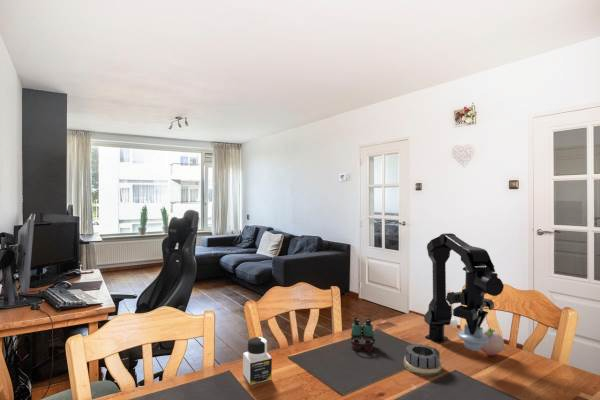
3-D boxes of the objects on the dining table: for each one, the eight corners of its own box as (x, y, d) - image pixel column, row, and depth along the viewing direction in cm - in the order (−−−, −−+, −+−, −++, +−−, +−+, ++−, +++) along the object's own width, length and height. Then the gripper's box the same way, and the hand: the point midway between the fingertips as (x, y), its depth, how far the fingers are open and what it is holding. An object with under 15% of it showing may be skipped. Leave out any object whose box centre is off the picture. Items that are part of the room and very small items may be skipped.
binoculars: (351, 327, 127) (350, 315, 137) (351, 355, 128) (350, 340, 138) (376, 329, 126) (373, 316, 136) (376, 356, 127) (373, 341, 137)
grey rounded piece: (453, 346, 117) (454, 325, 117) (464, 339, 123) (465, 319, 123) (481, 356, 110) (482, 334, 110) (492, 347, 116) (493, 327, 116)
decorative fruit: (503, 363, 122) (504, 335, 121) (477, 358, 126) (477, 330, 125) (503, 353, 130) (504, 326, 130) (478, 347, 134) (479, 322, 134)
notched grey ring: (415, 355, 127) (415, 340, 127) (447, 368, 118) (448, 352, 118) (396, 366, 119) (397, 350, 119) (430, 380, 110) (430, 363, 110)
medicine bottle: (250, 385, 106) (250, 346, 106) (242, 374, 112) (243, 337, 112) (271, 379, 109) (272, 341, 109) (263, 369, 116) (263, 333, 115)
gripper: (462, 277, 128) (461, 319, 129) (437, 286, 116) (436, 333, 116) (495, 284, 120) (493, 329, 121) (472, 294, 108) (471, 344, 108)
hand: (473, 333), depth 117 cm, fingers closed on grey rounded piece
